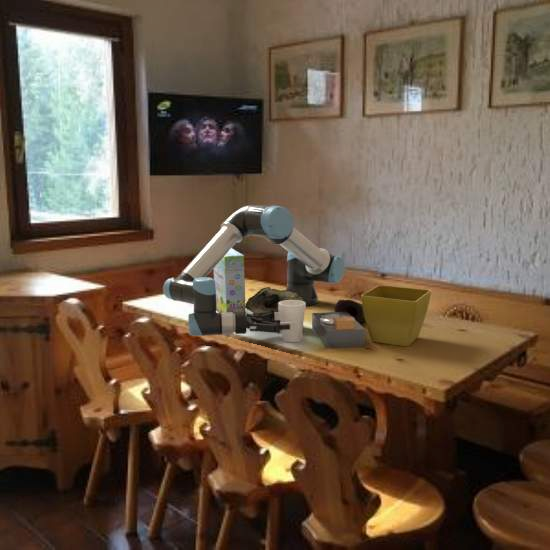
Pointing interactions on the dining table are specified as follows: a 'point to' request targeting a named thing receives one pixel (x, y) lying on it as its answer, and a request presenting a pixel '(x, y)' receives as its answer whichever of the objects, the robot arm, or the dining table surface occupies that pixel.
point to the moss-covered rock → (270, 300)
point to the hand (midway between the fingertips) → (296, 320)
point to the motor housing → (338, 330)
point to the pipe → (351, 309)
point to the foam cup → (292, 318)
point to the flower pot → (395, 313)
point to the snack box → (230, 283)
